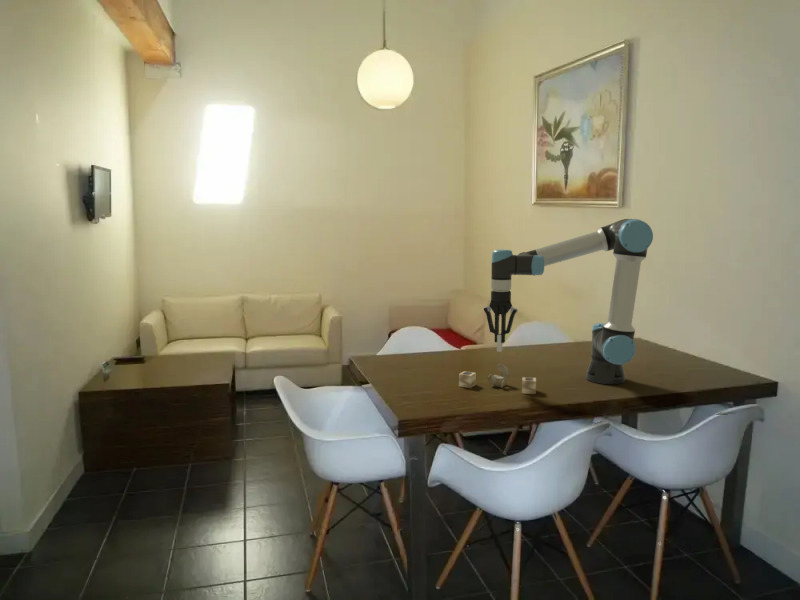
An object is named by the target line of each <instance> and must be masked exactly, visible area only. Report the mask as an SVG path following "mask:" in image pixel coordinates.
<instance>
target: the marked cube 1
mask: <svg viewBox="0 0 800 600" xmlns="http://www.w3.org/2000/svg"><path fill="white" fill-rule="evenodd" d="M476 383H477V373H476V372H472V371H466V370H465V371H462V372H459V374H458V387H461V388H467V389H472V388H473V387H475V386H476Z"/></svg>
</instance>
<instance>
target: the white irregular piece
mask: <svg viewBox="0 0 800 600" xmlns="http://www.w3.org/2000/svg"><path fill="white" fill-rule="evenodd" d="M496 369H497V371H498V372H500V373H501V375H502V376H501V375H499V374H494V375H493V374H492V373H490V374H489V375H488V376H487V381H488V382H489V383H490V384H491V387H496V388H497V387H498V388H501V389H503V388H504V387H505V386H507V385H508V383H507V382H508V380H509V379H508V378H509V377H510V370H509V369H508V368H507V367H506V366H505V365H504V364H501V363H497V365H496Z"/></svg>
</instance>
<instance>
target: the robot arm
mask: <svg viewBox="0 0 800 600" xmlns="http://www.w3.org/2000/svg"><path fill="white" fill-rule="evenodd" d="M653 238H654V234H653V230H652V228H651V226H650V225H649V224H648V223H647V222H645V221H643V220H641V219H638V218H623V219H619V220H617V221H615V222H613V223H610V224H607V225H605V226H602V227H599V228H598V229H597V231H594V232H590V233H586V234H584V235H583V234H582V235H579V236H577V237H573V238H570V239H566V240H562V241H559V242H556V243H553V244H549V245H546V246H542V247H539V248H536V249H532V250H529V251H526V252H525V251H522V252H519V253H518V254H513V250H511V249H495V250H492V253H491V280H490V284H491V285H490V289H491V291H490V302H489V305H488V306H485V307H484V308H483V311H484V312H485V315H486V319H487V324H488V329H489V333H492V334H494V343H496V352H500V353H501V352H502V351H503V344H505V342H506V334H507V335H509V333H511V330H512V326H513V323H514V319H515V315H516V314H517V312H518V310H519V309H517V308H515V307H514V306H513V305H512V292H511V290H512V276H513V275H514V276H516V275H517V276H535V277H536V276H542V275H543V274H544V272H545V267H547V266H551V265H554V264H558V263H561V262H564V261H565V262H566V261H568V260H572V259H575V258H579V257H582V256H586V255H588V254H589V255H590V254H593V253H596V252H599V251H605V252H608V251H613V252H612V254H613V256H614V257H615V259H616V261H615V270H614V274H613V275H614V276H613V280H612V281H613V283H612V289H611V297H610V302H609V303H610V304H609V309H608V310H609V311H608V318H607V321H606V322H605V323H604V322H603V323H602V322H601V323H600V322H599V323H598V322H597V323H594V324H593V325H592V330H591V354H590V355H591V356H590V357H591V358H590V361H589V365H588V367H587V369H586V373H585V379H586V380H587V381H589V382H592V383H596V384H601V385H603V384H604V385H619V384H624V383H625V382H626V373H625V370H624V366H623V365H625V364H627V363H629V362H630V361H632V359H633V358H634V356H635V355H636V352H637V347H636V343H635V341H634V339H635V334H636V332H635V331H636V329H635V327H634V326H633V317H634V312H635V311H634V310H635V305H636V297H637V290H638V285H639V284H638V283H639V277H640V271H641V265H642V261H643V260H645V259H646V258H647V254H648V249H649V247H650V246H651V244H652V243H653ZM491 311H492V312H493V313H494V322H493V318H492V313H491ZM509 311H510V316H509V318H508V323H507V322H506V321H507V319H506V318H507V314H508V313H509ZM500 317H501V325H500ZM500 331H501V332H500Z"/></svg>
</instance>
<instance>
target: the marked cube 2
mask: <svg viewBox="0 0 800 600" xmlns="http://www.w3.org/2000/svg"><path fill="white" fill-rule="evenodd" d="M521 380H522V381H521V383H522V384H521V390H522V391H521V394H527V395H536V393H537V377H525V376H522V379H521Z"/></svg>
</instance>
